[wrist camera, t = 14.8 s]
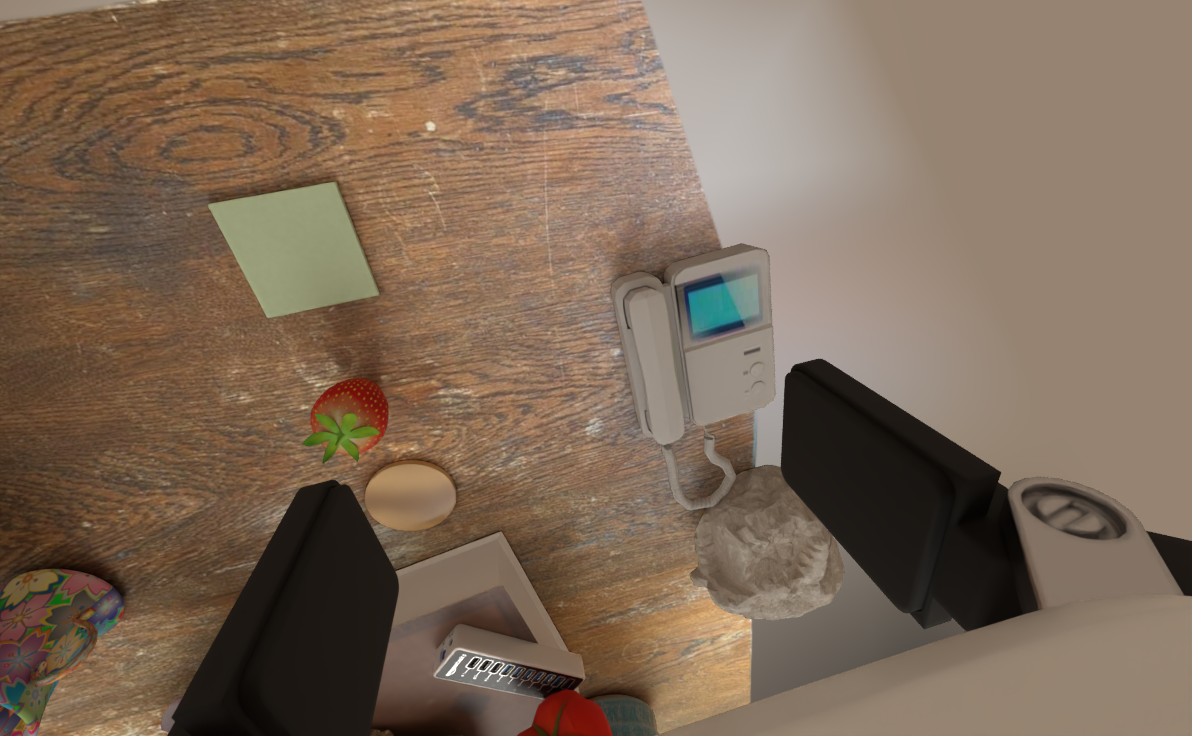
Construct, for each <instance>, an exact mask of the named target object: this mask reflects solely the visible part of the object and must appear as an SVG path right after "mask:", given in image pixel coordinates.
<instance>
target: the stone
mask: <svg viewBox="0 0 1192 736" xmlns="http://www.w3.org/2000/svg"><path fill="white" fill-rule="evenodd" d="M694 539H695V550H696V552H697V555H698V557H699V561H698V567H697V568H696V569H695V570H693V571H692V572H691V573H690V579H691V580H692V582H693V585H694V586H698V587H706V588H707V589H708V591H709V593H710V595H711V598H712V600H713V602H714V603H715V605H717V606H719V607H720V608H721V609H723V610H725V611H726V612H729V613H732V614H737V615H743V616H744V617H745V618H748V619H765V620H766V619H769V620H778V619H780V618H793V617H799V616H802V615H803V614H805V613H807V612H810V611H813V610H814V609H815V608H817V607H821V606H823V605H827V604H828V603H830V602H831V601H832V599H833V597H834V596H835V594H836V592H837V591H838V590H839V589H840V587H841V585H842V582H843V574H844V573H845V570H844V565H843V562H842V558H841V556H840V553H839V549H838V545H837V542H836V540H835V539H834V538H833V535H832V534H831V533H830V532H829V531H828V530H827V528H826V527H825V526H824V525H823V524H822V523H821V522H820V520H819V519H818V518H817V517H816V516H815V515H814V514H813V512H812V511H811V510H810V509H809V508H808V507H807V506H806V505H805V503H804V502H803V501H802V500H801V499H800V498H799V497H798V495H797V494H796V493H795V492H794V491H793V490H792V489H791V488H790V486H789V485H788V484H787V483H786V481H785V480H784V478H783V475H782V472H781V467H777V466H773V465H764V466H760V467H756V468H753V469H750V470H747V471H742V472H741V473H739V474H738V475H736V480H735V481H734V483H733V485H732V487H731V489H730V491H729V493H728V494H726V495H725V496H724V497H723V498H722V499H721V500H720V501H719V502H718V503H717V504H716V505H715V506H713V507H708V508H707V509H706V511H705V513H704V514H703V516H702V517H701V519H700V522H699V524H698V526H697V528H696V534H695V537H694Z"/></svg>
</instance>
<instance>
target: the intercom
mask: <svg viewBox="0 0 1192 736" xmlns="http://www.w3.org/2000/svg"><path fill="white" fill-rule="evenodd" d="M664 283H665V284H662V283H661V282H660V280H659V279H658V278H656V277H654V276H653V275H651V274H649V273H645V272H641V271H640V272H637V273H633V274H629V275H626V276H622V277H619V278H618V279H617V280H616V281H615V282H614V283H613V284H612V287H611V295H612V300H613V305H614V310H615V315H616V319H617V324H618V329H619V334H620V338H621V343H622V348H623V353H624V357H625V362H626V367H627V372H628V377H629V381H630V386H631V391H632V396H633V400H634V405H635V410H636V415H637V420H638V423H639V425H640V428H641V430H642V432H643V434H644V435H645V436H646V438H654V439H655V441H656V443H658V444H662V448H661V451H662V453H663V455H664V458H665V460H666V465H667V472H668V478H669V484H670V488H671V490H672V493H673V496H674V498H675V500H676V501H677V502H679V503H680V504H681V505H682V506H683V507H684V508H686V509H687V510H695V509H701V508H708V507H713V506H715V505H716V504H717V503H718V502H719V501H720V500H721V499H722V498H723V497H724V496H725V495H726V494H728V493H729V491H730V489H731V487H732V485H733V483H734V481H735V480H736V474H735V472H734V470H733V467H732V465H731V463H730V460H729V459H727V458H725V457H722V456H720V455H718V453H717V452H716V450H715V449H714V443H715V435H713V434H709V433H707V431H706V430H705V425H708V424H712V423H715V422H718V421H721V420H724V419H728V418H731V417H734V416H737V415H740V414H744V413H747V412H750V411H753V410H756V409H759V408H763V407H765V406H766V405H768V404H769V403H770V402H772V401H773V400H774V398H775V394H776V391H775V364H774V340H773V326H772V309H771V286H770V285H771V284H770V260H769V255H768V252H767V250H765V249H761V248H758V247H754V246H750V245H746V244H738V245H735V246H731V247H727V248H723V249H720V250H716V251H713V252H709V253H705V254H702V255H698V256H694V257H691V258H687V259H684V260H680V261H676V262H673V263H672V264H671V265H670V266H668V267H667V268H666V269H665V273H664ZM686 417H689V418H690V420H691V421H692V423H693V424H695V425H703V426H704V430H703V431H704V433H705V434H706V435H705V436H704V445H703V451H704V452H705V454H706V455H707V457H708V459H709V460H710V462H711V463H713V464H715V465H718V466H720V467H722V469H723V471H724V473H725V475H726V476H725V478H724V480H723V481H722V483H721V485H720V487H719V488H718V489H717V490H716V491H715V492H714V493H712V494H711V495H710V496H709V497H706V498H700V499H694V500H690V499H689V498H688V497H687V496H685V495H684V494H683V491H682V488H681V485H680V481H679V474H678V468H677V461H676V456H675V453H674V451H673V449H672V446H671V445H670V444H669V443H672V442H675V441H677V440H678V439H679V438H680V437H682V436H683V435H684V419H683V418H686ZM665 444H666V445H665ZM663 445H664V446H663Z"/></svg>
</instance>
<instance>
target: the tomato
mask: <svg viewBox="0 0 1192 736" xmlns="http://www.w3.org/2000/svg"><path fill="white" fill-rule="evenodd" d="M517 736H613V735H612V731H611V728H610V725H609V723H608V721H607V718H606V716H605V714H604V712H603V710H602V708H601V707H600V706H599V705H598V704H596V703H595V702H594V701H591V700H588V699H585V698H584V697H583V696H582V695H580V694H579V693H578V692H576V691H573V690H568V689H565V690H562V691H559V692H555V693H553V694H551V695H550V696H548V697H547V698H546V699H545V700H544V701H543V702H541V703H540V704H539V706H538V708H537V711H536V714H535V717H534V720H533V723H532V726H531V727H529V728H527V729H526V730H524V731H522V732H520V733H519V734H518V735H517Z"/></svg>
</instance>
